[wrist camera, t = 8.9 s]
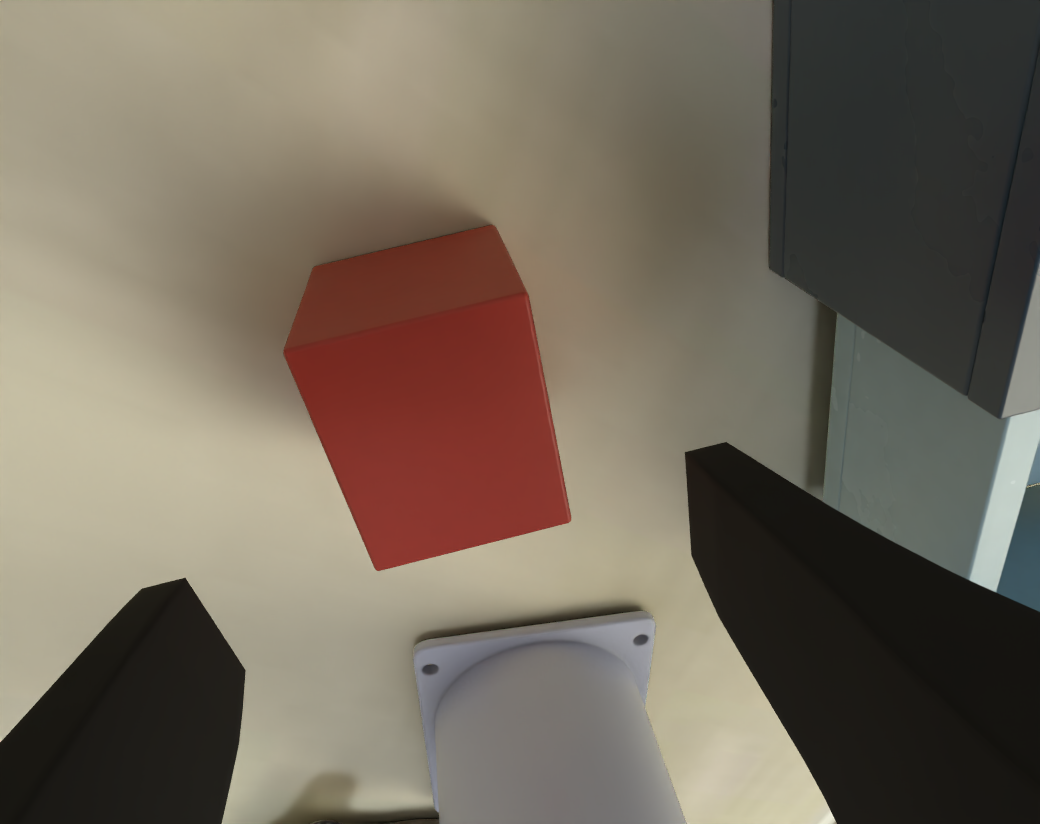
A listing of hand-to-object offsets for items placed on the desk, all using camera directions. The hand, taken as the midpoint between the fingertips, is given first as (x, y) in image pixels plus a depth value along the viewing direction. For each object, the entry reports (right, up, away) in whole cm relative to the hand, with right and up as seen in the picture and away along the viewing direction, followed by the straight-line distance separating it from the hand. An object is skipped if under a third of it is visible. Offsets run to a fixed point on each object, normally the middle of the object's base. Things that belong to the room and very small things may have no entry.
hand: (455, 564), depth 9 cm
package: (-1, +4, +7) cm, 8 cm away
